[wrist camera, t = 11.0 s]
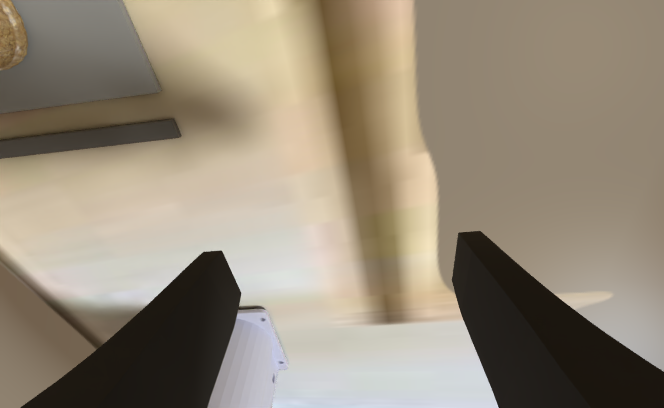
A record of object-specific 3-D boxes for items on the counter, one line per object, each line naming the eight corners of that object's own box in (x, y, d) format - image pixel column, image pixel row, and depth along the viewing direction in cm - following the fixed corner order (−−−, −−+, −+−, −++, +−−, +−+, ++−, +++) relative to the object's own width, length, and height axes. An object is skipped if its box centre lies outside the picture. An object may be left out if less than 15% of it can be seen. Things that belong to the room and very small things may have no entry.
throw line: (181, 135, 17) (178, 137, 17) (-33, 160, 19) (-38, 163, 19) (173, 118, 17) (171, 120, 17) (-47, 145, 18) (-52, 147, 18)
